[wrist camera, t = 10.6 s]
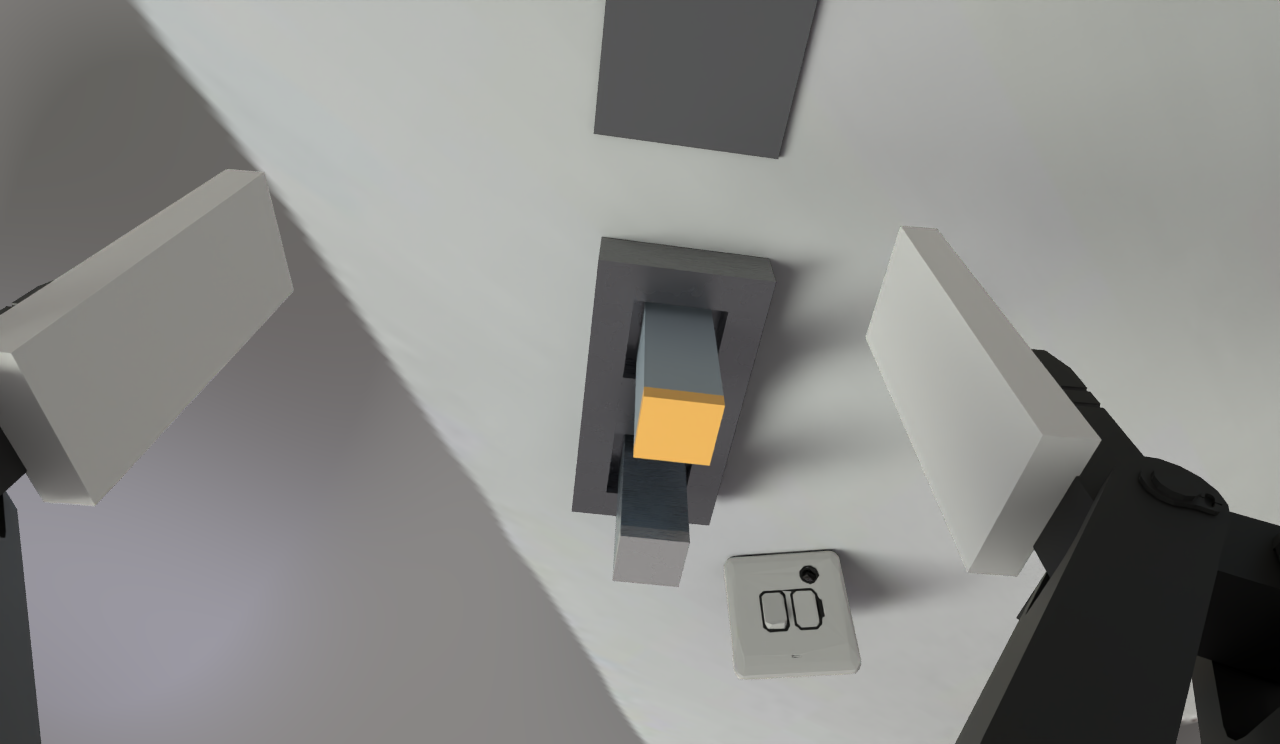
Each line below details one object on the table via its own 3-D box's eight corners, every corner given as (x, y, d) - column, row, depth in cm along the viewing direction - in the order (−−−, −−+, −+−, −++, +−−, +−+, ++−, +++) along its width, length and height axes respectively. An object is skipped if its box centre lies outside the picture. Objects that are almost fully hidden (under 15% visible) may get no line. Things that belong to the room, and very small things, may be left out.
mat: (829, -58, 32) (831, -57, 31) (777, 156, 37) (778, 159, 37) (614, -92, 31) (614, -92, 31) (594, 131, 37) (593, 133, 36)
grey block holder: (768, 258, 41) (801, 362, 32) (706, 495, 52) (717, 621, 43) (601, 237, 40) (587, 337, 31) (575, 481, 52) (559, 606, 43)
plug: (710, 304, 42) (725, 405, 33) (698, 358, 44) (709, 465, 36) (645, 296, 41) (643, 396, 33) (636, 350, 44) (633, 457, 35)
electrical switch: (838, 546, 56) (866, 657, 49) (834, 582, 59) (859, 690, 52) (722, 554, 56) (733, 664, 49) (724, 588, 60) (735, 696, 53)
